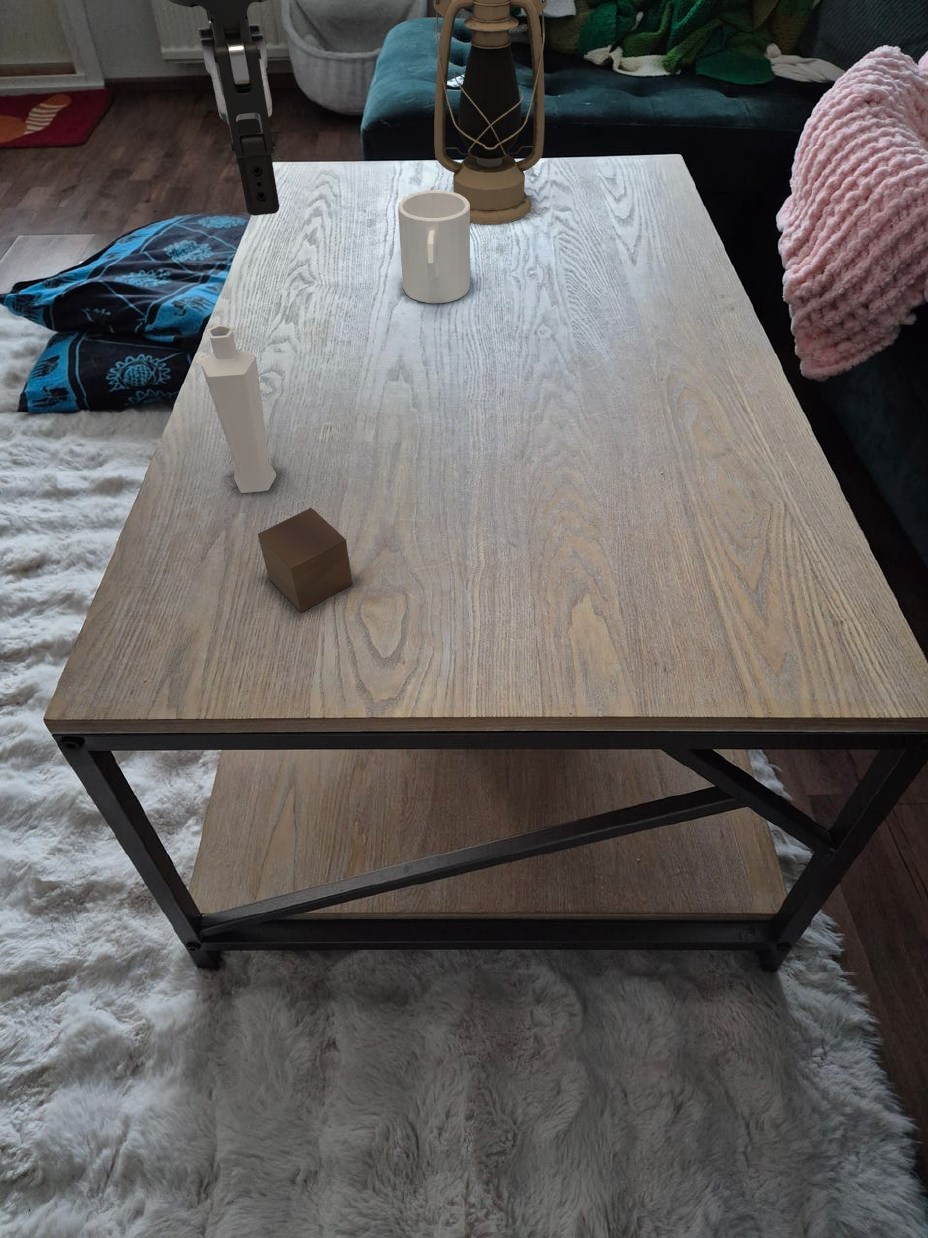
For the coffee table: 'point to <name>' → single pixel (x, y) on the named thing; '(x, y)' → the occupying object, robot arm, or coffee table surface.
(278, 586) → the walnut block
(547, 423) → the coffee table surface
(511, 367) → the coffee table surface
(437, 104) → the lantern
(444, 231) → the mug
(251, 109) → the robot arm
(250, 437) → the perfume bottle
